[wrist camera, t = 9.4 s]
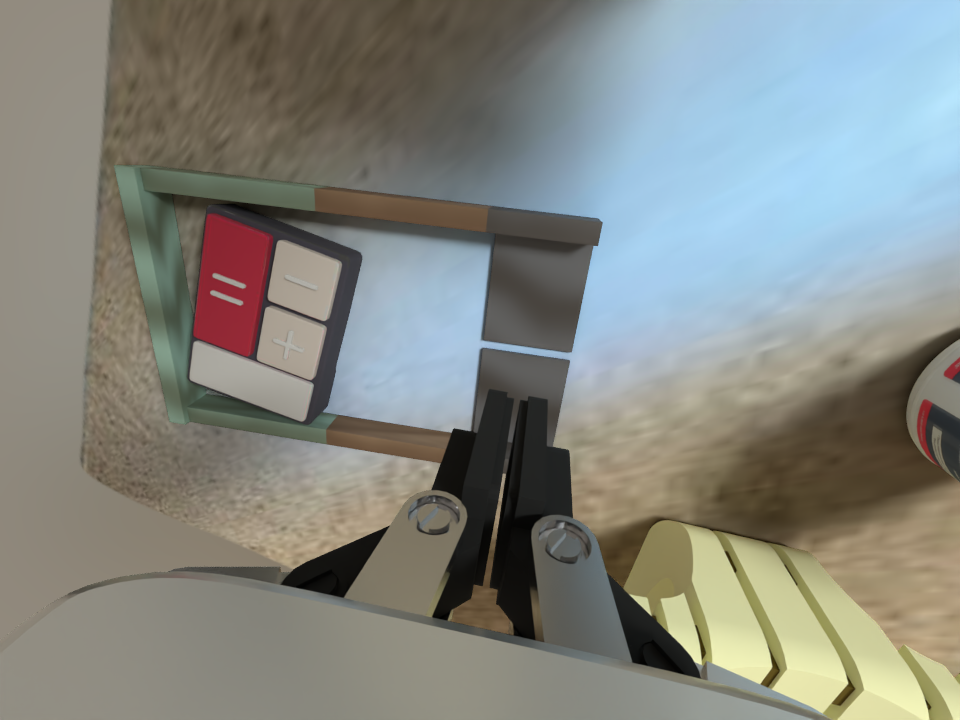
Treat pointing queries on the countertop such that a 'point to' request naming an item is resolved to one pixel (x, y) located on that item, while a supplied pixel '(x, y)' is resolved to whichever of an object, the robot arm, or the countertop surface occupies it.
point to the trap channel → (519, 233)
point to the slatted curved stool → (783, 626)
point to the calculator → (270, 312)
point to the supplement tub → (938, 411)
